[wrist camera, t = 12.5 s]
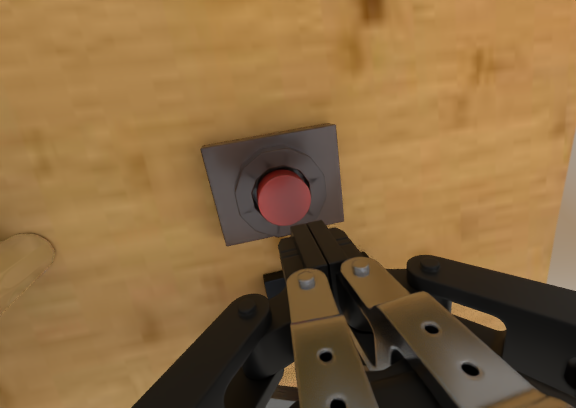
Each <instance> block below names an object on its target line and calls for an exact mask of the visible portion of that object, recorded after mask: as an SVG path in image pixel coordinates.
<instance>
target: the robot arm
mask: <svg viewBox="0 0 576 408" xmlns="http://www.w3.org/2000/svg"><path fill="white" fill-rule="evenodd" d="M290 232H291V237H289V238H284V239H281V240H280V242H279V245H278V249H279V254H280V259H281V264H282V269H283V274H284V278H285V282H286V286H285V288H284V289H283V290H282V291H281V292H280V293H279V294H278V295H276V296H274V297H273V298H271V299H269V300H268V299H267V298H266V297H265V296H263V295H260V294H248V295H244V296H242V297H239V298H238V299H236V300H234V301H233V302H232V303H231V304H230V305H229V306H228V307H227V308H226V309H225V310H224V311H223V312H222V313H221V314H220V315H219V317H218V318H217V319H216V320H215V321H214V322H213V323H212V324H211V325H210V326H209V327H208V328H207V329H206V330H205V331H204V332H203V333H202V334H201V335H200V336H199V337H198V338H197V340H196V341H195V342H194V343H193V344H192V345H191V346H190V347H189V348H188V349H187V350H186V351H185V352H184V353H183V354H182V355H181V356H180V357H179V358H178V359H177V360H176V362H175V363H174V364H173V365H172V366H171V367H170V368H169V369H168V370H167V371H166V372H165V373H164V374H163V375H162V376H161V377H160V378H159V379H158V380H157V381H156V382H155V383H154V385H153V386H152V387H151V388H150V389H149V390H148V391H147V392H146V393H145V394H144V395H143V396H142V397H141V398H140V399H139V400H138V401H137V402H136V403H135V404H134V405H133V406H132V408H265V407H266V405H267V403H268V402H269V400H270V398H271V396H272V395H273V393H274V391H275V389H276V387H277V386H278V384H279V382H280V380H281V378H282V376H283V373H284V368H285V367H287V366H288V365H290V364H291V363H293V362H295V371H296V379H297V388H298V397H299V399H298V400H297V401H296V402H294V403H293V404H292V405H291V406H290V407H289V408H576V291H573V290H569V289H565V288H561V287H557V286H553V285H549V284H545V283H541V282H537V281H533V280H529V279H525V278H521V277H517V276H513V275H509V274H505V273H501V272H497V271H493V270H489V269H485V268H481V267H477V266H473V265H469V264H465V263H461V262H457V261H453V260H449V259H445V258H441V257H437V256H432V255H419V256H415V257H412V258H411V259H409V260H408V262H407V269H385V268H384V267H383V266H382V265H381V264H380V263H379V262H377V261H376V260H374V259H372V258H368V257H364V256H363V255H362V254H361V253H360V251H359V250H358V249H357V248H356V246H355V245H354V244H353V243H352V241H351V240H350V239H349V238H348V236H347V235H346V234H345V232H344V231H342V230H340V229H338V228H336V227H335V228H330V229H328V228H327V226H326V225H325V223H324V222H323V220H318V221H313V222H308V223H304V224H299V225H294V226H290ZM452 302H455V303H458V304H460V305H463V306H466V307H469V308H472V309H475V310H478V311H481V312H484V313H487V314H490V315H493V316H495V317H497V318H498V319H500V320H501V321H502V322H503V323H504V324H505V326H506V329H507V330H505V331H497V330H494V329H491V328H488V327H486V326H483V325H480V324H478V323H475V322H472V321H469V320H467V319H464V318H461V317H458V316H456V315H453V314H451V305H452ZM357 350H358V351H357ZM358 352H359V353H360V355H361V357H362V359H363V360H364V362H365V364H366V366H367V368H368V369H369V371H365V369H364V367H363V364H362V361H361V359H360V356H359V353H358Z"/></svg>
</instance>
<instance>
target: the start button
mask: <svg viewBox="0 0 576 408" xmlns="http://www.w3.org/2000/svg"><path fill="white" fill-rule="evenodd" d="M257 202H258V207H259V210H260V212H261V214H262V216H263V217H264V218H265V219H266V220H267V221H269V222H270V223H272V224H275V225H279V226H287V225H292V224H294V223H296V222H298V221H300V220H301V219H302V218H303V217H304V216H305V215H306V213H307V212H308V210H309V207H310V204H311V194H310V191H309V188H308V187H307V185H306V184H305V183H304V181H303V180H302V179H301V178H300V177H299V176H298V175H297V174H296V173H294V172H292V171H289V170H275V171H272V172H270V173H268V174H267V175H266V176H265V177H264V178H263V179H262V180H261V181H260V183H259V185H258V188H257Z"/></svg>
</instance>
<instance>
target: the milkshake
mask: <svg viewBox="0 0 576 408" xmlns="http://www.w3.org/2000/svg"><path fill="white" fill-rule="evenodd" d="M54 255H55V250H54V249H53V247H52V246H51V244H50V242H49V241H48V240H46V239H44V238H42V237H40V236H39V235H37V234H27V233H19V234H17V235H14V236H12V237H10V238H8V239H6V240H4V241H2V242H0V316H1V315H2V314H3V313H4V312H5V311H6V310H7V309H8V308H9V306H10V305H11V304H12V303H13V302H14V301H15V300H16V299H17V298H18V297H19V296H20V295H21V294H22V293H23V292H24V291H25V290H26V289H27V288H28V287H29V286H30V285H31V284H32V283H33V282H34V281H35V280H36V279H37V278H38V277H39V276H40V275H41V274H42V273H43V272H44V271H45V270H46V269H47V268H48V267H49V266H50V265H51V264H52V263H53V259H54Z"/></svg>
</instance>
